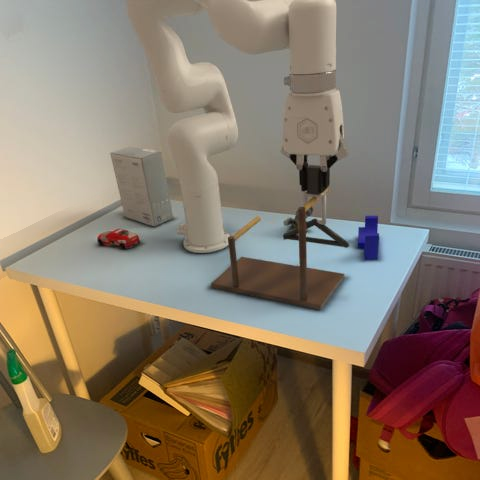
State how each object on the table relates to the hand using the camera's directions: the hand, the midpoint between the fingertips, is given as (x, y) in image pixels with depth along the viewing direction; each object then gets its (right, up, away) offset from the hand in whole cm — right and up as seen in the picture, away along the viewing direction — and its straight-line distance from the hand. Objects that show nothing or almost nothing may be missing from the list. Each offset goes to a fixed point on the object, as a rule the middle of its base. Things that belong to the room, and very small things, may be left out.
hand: (314, 189), depth 93 cm
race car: (-48, -4, +43) cm, 64 cm away
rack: (-6, -17, +16) cm, 24 cm away
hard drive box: (-42, +6, +58) cm, 72 cm away
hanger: (+1, -9, +6) cm, 11 cm away
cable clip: (+17, -8, +27) cm, 32 cm away
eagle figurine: (+2, -1, +39) cm, 39 cm away
